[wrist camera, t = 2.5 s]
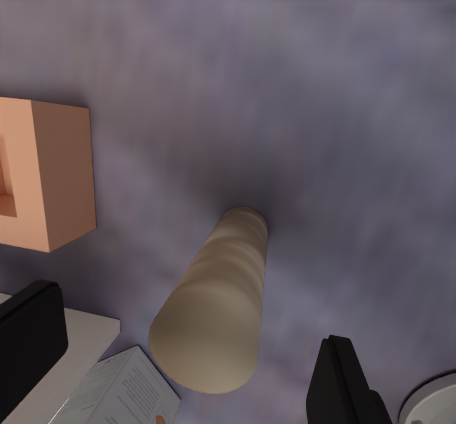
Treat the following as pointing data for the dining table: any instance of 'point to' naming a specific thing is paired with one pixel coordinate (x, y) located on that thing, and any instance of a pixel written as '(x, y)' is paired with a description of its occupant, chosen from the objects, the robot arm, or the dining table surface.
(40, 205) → the socket
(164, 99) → the dining table surface
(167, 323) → the peg
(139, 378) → the small box
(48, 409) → the lidded rectangular box
